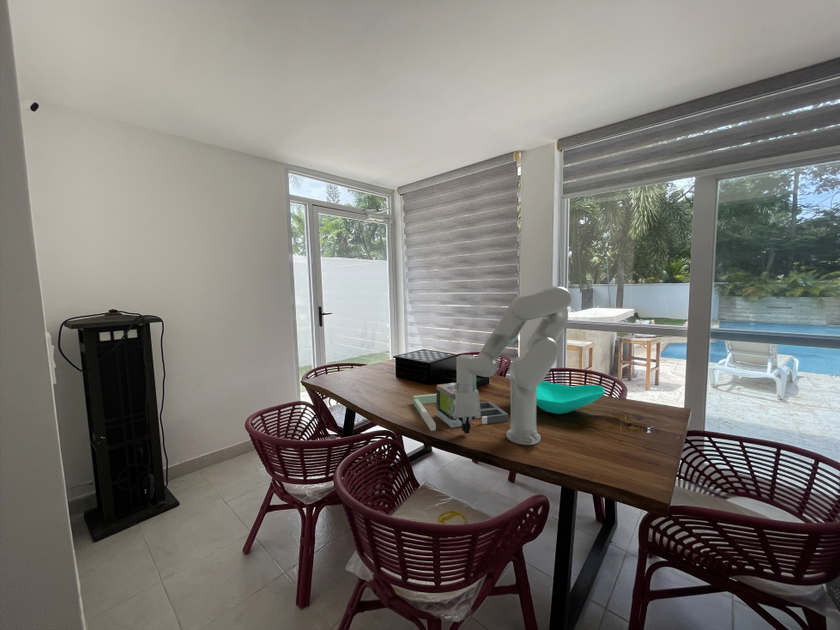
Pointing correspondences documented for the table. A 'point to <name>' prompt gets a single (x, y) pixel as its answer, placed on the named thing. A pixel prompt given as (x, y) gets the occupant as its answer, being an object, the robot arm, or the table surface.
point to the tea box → (446, 404)
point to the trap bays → (493, 412)
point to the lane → (425, 415)
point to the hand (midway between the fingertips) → (466, 431)
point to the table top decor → (566, 396)
